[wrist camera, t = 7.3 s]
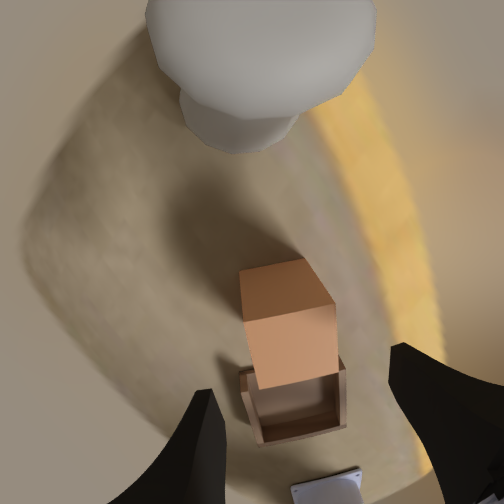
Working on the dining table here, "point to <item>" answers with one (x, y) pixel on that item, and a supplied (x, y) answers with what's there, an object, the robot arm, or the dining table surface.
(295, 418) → the box
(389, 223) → the dining table surface
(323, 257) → the dining table surface
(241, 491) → the dining table surface
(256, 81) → the salt shaker
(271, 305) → the block
